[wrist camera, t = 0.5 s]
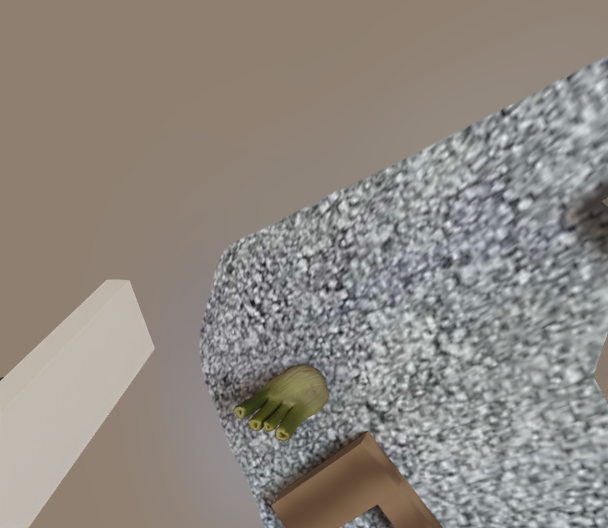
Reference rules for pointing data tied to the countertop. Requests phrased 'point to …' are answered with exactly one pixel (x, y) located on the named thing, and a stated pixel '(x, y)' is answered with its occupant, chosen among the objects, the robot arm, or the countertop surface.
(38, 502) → the robot arm
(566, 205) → the countertop surface
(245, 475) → the countertop surface
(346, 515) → the jig block
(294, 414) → the fennel bulb
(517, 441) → the countertop surface
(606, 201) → the parts tray
